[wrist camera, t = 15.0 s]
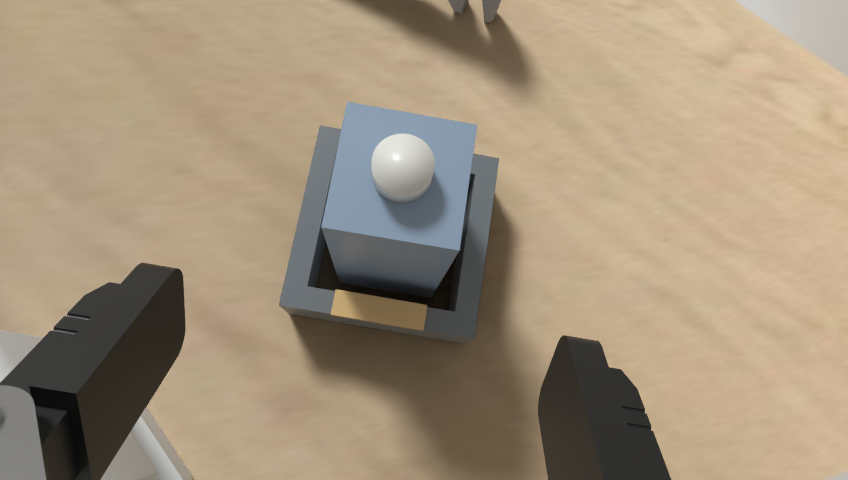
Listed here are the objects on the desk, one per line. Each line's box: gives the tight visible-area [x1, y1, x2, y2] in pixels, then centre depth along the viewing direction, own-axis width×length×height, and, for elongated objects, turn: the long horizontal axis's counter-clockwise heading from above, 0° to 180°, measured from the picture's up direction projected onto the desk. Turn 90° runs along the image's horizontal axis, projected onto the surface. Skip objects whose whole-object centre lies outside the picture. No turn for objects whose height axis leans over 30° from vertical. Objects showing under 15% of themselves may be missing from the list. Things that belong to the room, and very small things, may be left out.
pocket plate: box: [279, 126, 499, 344], centre depth 27 cm, size 9×8×3 cm
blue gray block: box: [321, 102, 477, 298], centre depth 23 cm, size 4×4×11 cm
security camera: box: [0, 330, 193, 480], centre depth 21 cm, size 6×7×10 cm
